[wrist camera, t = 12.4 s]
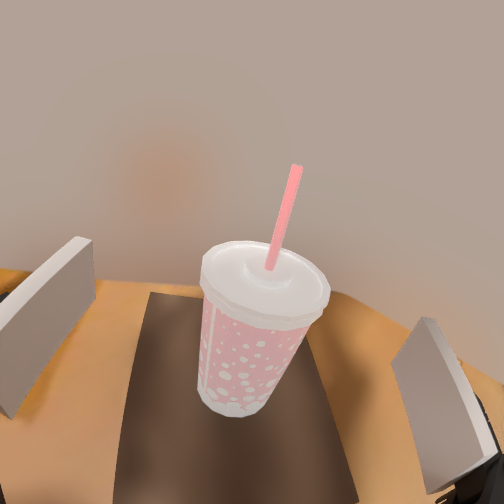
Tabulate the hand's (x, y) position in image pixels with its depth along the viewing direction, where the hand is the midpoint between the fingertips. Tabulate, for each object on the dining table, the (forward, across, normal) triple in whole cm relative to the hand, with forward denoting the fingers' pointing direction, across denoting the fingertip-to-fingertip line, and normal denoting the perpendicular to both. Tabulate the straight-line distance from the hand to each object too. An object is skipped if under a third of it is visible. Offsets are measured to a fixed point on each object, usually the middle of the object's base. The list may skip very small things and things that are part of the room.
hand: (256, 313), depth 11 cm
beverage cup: (+3, 0, -9) cm, 10 cm away
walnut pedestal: (+3, 0, -13) cm, 14 cm away
